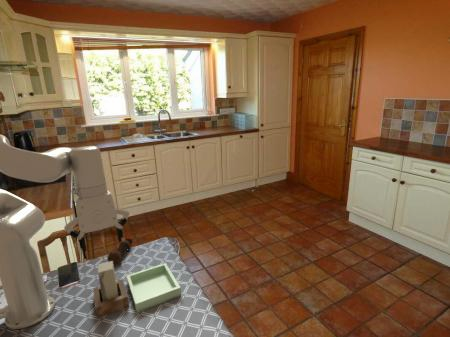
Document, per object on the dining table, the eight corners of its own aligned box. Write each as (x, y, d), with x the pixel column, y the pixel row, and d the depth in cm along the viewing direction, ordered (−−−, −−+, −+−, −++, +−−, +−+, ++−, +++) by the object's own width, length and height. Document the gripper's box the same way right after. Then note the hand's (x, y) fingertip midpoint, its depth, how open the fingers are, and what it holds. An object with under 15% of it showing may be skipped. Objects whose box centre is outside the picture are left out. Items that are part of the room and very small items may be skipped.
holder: (97, 318, 81) (95, 307, 80) (94, 297, 90) (93, 288, 89) (129, 306, 85) (127, 296, 84) (123, 287, 94) (122, 278, 93)
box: (104, 298, 89) (97, 263, 86) (118, 294, 91) (113, 259, 88) (103, 309, 84) (97, 272, 81) (119, 305, 86) (113, 268, 83)
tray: (136, 312, 83) (135, 304, 82) (127, 283, 96) (126, 275, 96) (181, 295, 89) (180, 287, 88) (166, 270, 103) (165, 262, 102)
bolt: (131, 248, 122) (117, 268, 108) (121, 243, 122) (105, 262, 108) (137, 238, 121) (122, 256, 107) (126, 233, 121) (110, 250, 106)
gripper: (56, 201, 71) (70, 259, 76) (126, 187, 79) (135, 241, 83) (58, 193, 78) (70, 247, 82) (122, 181, 86) (130, 231, 90)
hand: (102, 244), depth 83 cm, fingers open, 9 cm apart
